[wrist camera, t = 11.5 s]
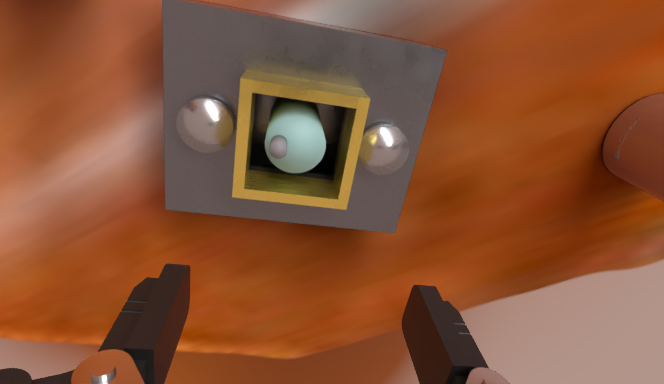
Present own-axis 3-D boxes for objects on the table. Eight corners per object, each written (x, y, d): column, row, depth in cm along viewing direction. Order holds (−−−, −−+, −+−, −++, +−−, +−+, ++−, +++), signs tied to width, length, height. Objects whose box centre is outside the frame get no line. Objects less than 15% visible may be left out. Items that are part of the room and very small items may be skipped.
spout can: (322, 95, 34) (333, 127, 26) (314, 142, 36) (321, 185, 27) (273, 87, 33) (266, 116, 25) (267, 135, 35) (260, 178, 27)
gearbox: (422, 42, 34) (466, 56, 25) (380, 202, 40) (404, 255, 32) (185, -3, 30) (143, -4, 22) (183, 179, 37) (151, 232, 29)
